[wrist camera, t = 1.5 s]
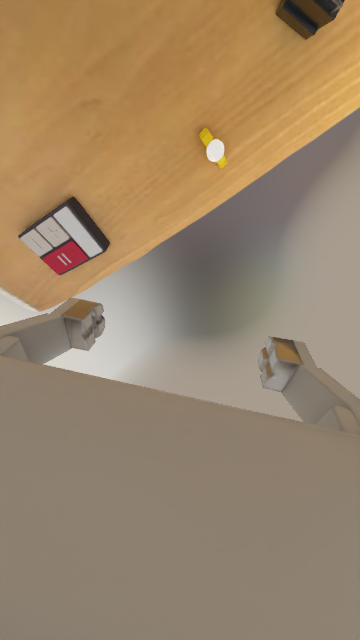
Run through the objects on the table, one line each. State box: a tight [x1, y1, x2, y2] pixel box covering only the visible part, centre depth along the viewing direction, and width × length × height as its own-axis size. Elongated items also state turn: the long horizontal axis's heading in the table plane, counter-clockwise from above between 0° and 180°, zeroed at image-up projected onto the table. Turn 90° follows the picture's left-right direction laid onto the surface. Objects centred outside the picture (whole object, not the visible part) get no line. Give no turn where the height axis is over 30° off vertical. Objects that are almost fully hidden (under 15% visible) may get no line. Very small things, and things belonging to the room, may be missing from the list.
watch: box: [199, 128, 227, 169], centre depth 34 cm, size 6×3×6 cm, turn 43°
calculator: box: [18, 197, 110, 275], centre depth 45 cm, size 11×4×15 cm
